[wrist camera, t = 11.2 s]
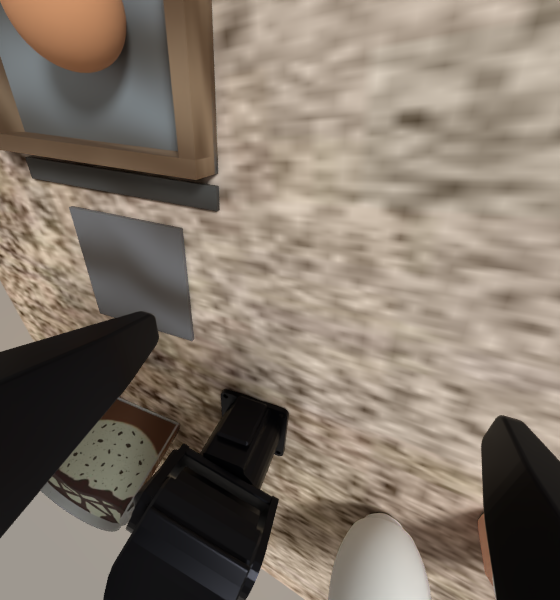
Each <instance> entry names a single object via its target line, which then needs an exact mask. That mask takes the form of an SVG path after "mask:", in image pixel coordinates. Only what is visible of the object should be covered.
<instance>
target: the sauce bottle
mask: <svg viewBox="0 0 560 600" xmlns="http://www.w3.org/2000/svg"><path fill="white" fill-rule="evenodd" d="M328 600H432V597H431V591H430V586H429V582H428V577H427V574H426V570H425V567H424V564H423V561H422V558H421V555H420V553H419V551H418V549H417V547H416V544H415V542H414V541H413V539H412V537H411V536H410V535H409V534H408V533H407V532H406V531H405V530H404V529H403V527H402V525H401V524H400V523H399V522H398V521H397V520H395V519H394V518H392V517H391V516H389V515H387V514H385V513H374V514H369V515H367V516H366V517H365V518H362V519H360V520H358V521H356V522H355V523H354V524H353V526H352V527H351V528H350V529H349V531H348V532H347V534H346V536H345V537H344V539H343V541H342V543H341V545H340V547H339V550H338V553H337V555H336V559H335V562H334V566H333V570H332V575H331V581H330V588H329V597H328Z"/></svg>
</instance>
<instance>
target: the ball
mask: <svg viewBox="0 0 560 600" xmlns="http://www.w3.org/2000/svg"><path fill="white" fill-rule="evenodd" d="M0 2H1V4H2V7H3V9H4V11H5V13H6V15H7V16H8V18H9V20H10V22H11V23H12V25H13V26H14V28H15V29H16V30H17V32H18V33H19V34H20V36H21V37H22V38H23V39H24V40H25V41H26V43H27V44H29V45H30V46H31V47H32V48H33V49H34V50H35V51H36V52H37V53H38V54H40V55H41V56H42V57H44V58H45V59H47V60H48V61H50V62H52V63H53V64H55V65H57V66H59V67H62V68H64V69H67V70H70V71H73V72H80V73H92V72H97V71H101V70H103V69H105V68H107V67H109V66H110V65H111V64H113V63H114V62H115V60H116V59H117V58H118V56H119V55H120V53H121V51H122V49H123V46H124V43H125V38H126V15H125V10H124V5H123V2H122V0H0Z"/></svg>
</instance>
